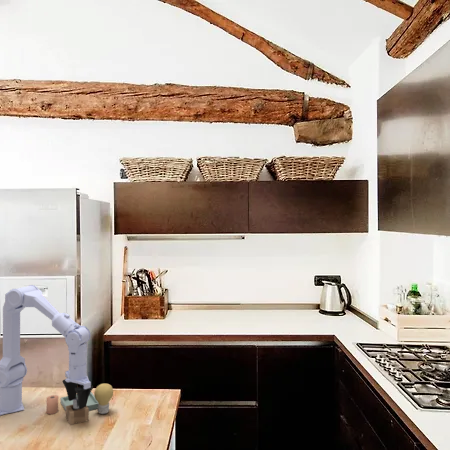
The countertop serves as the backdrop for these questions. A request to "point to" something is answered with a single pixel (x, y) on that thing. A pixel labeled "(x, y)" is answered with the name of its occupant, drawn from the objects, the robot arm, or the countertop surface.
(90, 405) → the tray
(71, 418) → the walnut block
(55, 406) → the terracotta round
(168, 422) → the countertop surface
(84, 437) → the countertop surface
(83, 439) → the countertop surface
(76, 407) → the cylinder
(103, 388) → the light bulb
